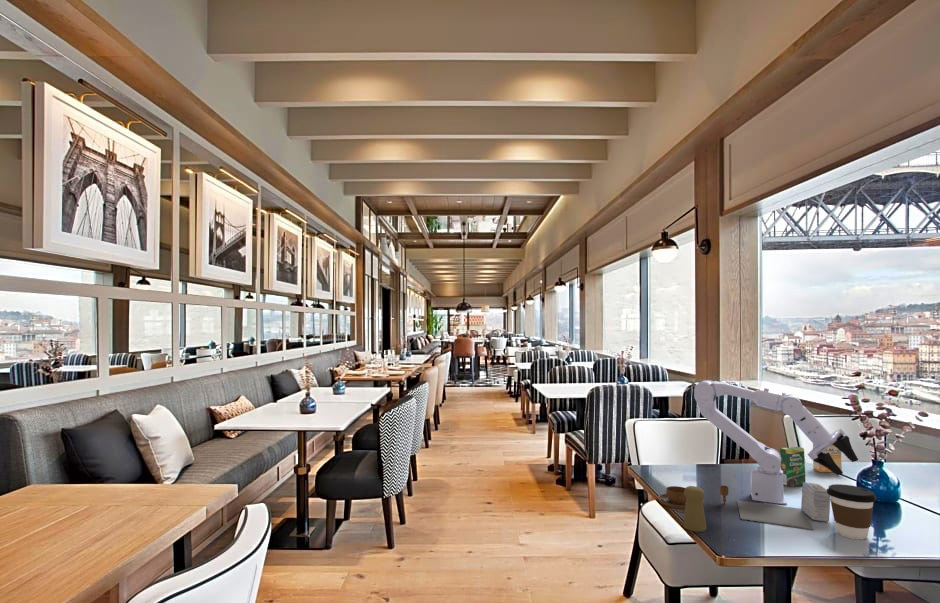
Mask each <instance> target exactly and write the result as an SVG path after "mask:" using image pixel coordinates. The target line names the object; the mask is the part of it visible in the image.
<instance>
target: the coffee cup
mask: <svg viewBox="0 0 940 603" xmlns="http://www.w3.org/2000/svg"><path fill="white" fill-rule="evenodd" d="M826 490H827V493H828V494H829V495H830V507H831V509H832V510H831V511H832V516H833V519H834V522H835V525H836V531H837V533H838V534H839V535H840V536H842V537H845V538H849V539H852V540H861V541H862V540H866V539H867V538H868V536H869V532H870V527H871V526H872V525H871V524H872V518H873V513H874V512H873V511H874V503H875V502H877V496H876V495H875V493H874V492H873V491H871V490H869V489H867V488H864V487H859V486H856V485H850V484H838V483H836V484H835V483H834V484H830V485H828V488H827V489H826Z"/></svg>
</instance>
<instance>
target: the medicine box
mask: <svg viewBox="0 0 940 603" xmlns="http://www.w3.org/2000/svg"><path fill="white" fill-rule="evenodd" d="M801 488H802V490H801V505H800V506H801V507H800V509H801V510H802V511H803V512H804V513H805V515H806V516H807V517H809V518H811V519H812V520H813V521H819V522H820V521H821V522H827V523H828V522H830V512H831V510H830V509H831V501H830V499H831V497H830V495H829V494H828V493H827V489H826V488H825V487H823V486H822V485H821V484H819V483H817V482H816V483H815V482H806V481H805V482H803V486H801Z"/></svg>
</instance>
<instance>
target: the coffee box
mask: <svg viewBox="0 0 940 603" xmlns="http://www.w3.org/2000/svg"><path fill="white" fill-rule="evenodd" d="M779 451H780V452H779V453H780V455H781V458H782V460H781V468H780V469H781V470H782V471H783V486H784V485H785V486H784V487H786V486H787V487H786V488H788V486H791V487H798V486H799V487H800V486H801V487H802V486H803V482H806V465H805V464H806V462H805V448H804V447H800V446H793V447H792V446H791V447H780V448H779Z"/></svg>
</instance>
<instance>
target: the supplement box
mask: <svg viewBox="0 0 940 603" xmlns="http://www.w3.org/2000/svg"><path fill="white" fill-rule="evenodd" d="M814 447H815V445H814V444H813V443H812V449H813V448H814ZM823 453H825V454H826V453H830V456H831V457H832V459H833V461H834V462H835V463H836V465H837V466H838V467H839V468H840V469H841V471H842V470H843V469H842V468H843V467H842V452H841V451H840V450H839V449H838V448H836V447H835V446H834V445H831V446H830V447H828V448H827V449H826V450H825V451H824V452H823ZM812 465H813V466H812V468H813V470H815V471H817V472H819V473H833V472H832V471H831V470H829V469H828V468H826V467H825V466H823V465H821V464H819V463H817V462H814V461H813V460H812ZM842 472H843V471H842Z"/></svg>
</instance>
